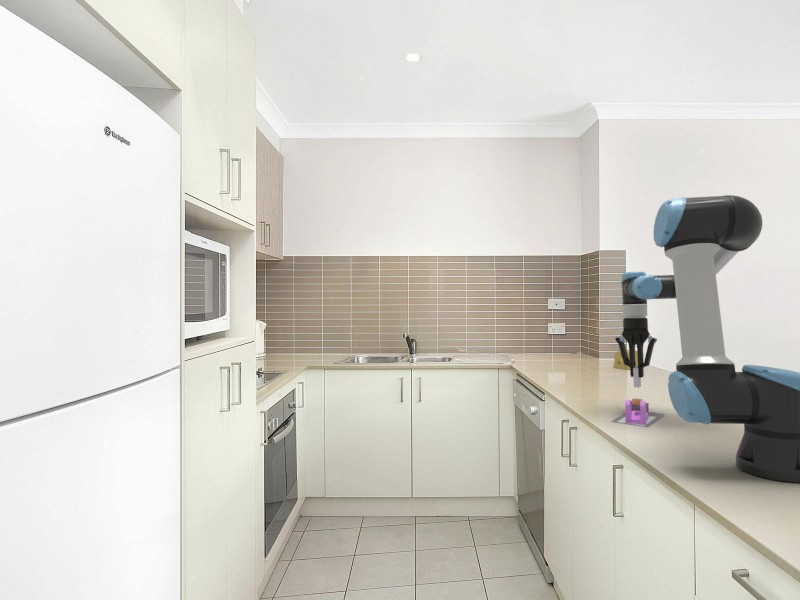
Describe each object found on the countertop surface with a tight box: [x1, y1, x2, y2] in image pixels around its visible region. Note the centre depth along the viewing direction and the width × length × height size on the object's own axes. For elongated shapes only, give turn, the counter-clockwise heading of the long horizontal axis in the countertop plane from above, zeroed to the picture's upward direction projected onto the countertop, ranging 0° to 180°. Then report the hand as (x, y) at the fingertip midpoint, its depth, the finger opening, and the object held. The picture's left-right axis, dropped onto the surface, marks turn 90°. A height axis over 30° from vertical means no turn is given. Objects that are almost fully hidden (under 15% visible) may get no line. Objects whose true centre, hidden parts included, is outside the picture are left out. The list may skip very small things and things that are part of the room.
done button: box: [631, 398, 644, 405], centre depth 164 cm, size 3×3×4 cm
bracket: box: [624, 399, 648, 425], centre depth 154 cm, size 13×6×7 cm, turn 149°
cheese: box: [613, 349, 638, 371], centre depth 264 cm, size 10×11×10 cm
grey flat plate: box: [610, 411, 666, 428], centre depth 157 cm, size 21×11×1 cm, turn 138°
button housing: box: [631, 400, 650, 413], centre depth 164 cm, size 6×6×3 cm
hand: (637, 386), depth 164 cm, fingers closed
